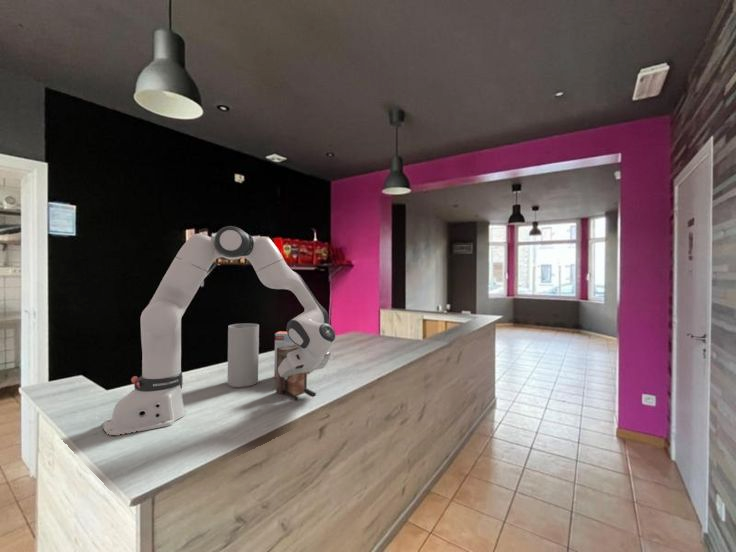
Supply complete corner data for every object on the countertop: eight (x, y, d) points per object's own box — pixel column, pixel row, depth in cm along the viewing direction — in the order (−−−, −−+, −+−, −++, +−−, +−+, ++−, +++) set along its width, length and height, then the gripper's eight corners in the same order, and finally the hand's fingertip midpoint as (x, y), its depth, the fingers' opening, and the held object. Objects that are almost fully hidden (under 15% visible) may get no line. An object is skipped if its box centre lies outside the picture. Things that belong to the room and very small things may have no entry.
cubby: (292, 401, 129) (293, 354, 129) (276, 392, 139) (277, 347, 138) (319, 394, 137) (320, 349, 137) (302, 385, 147) (302, 344, 147)
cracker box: (307, 376, 160) (308, 331, 160) (304, 380, 154) (304, 334, 154) (278, 374, 162) (279, 330, 161) (273, 378, 156) (274, 332, 155)
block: (293, 395, 136) (293, 370, 135) (286, 392, 139) (287, 367, 139) (304, 392, 139) (304, 368, 139) (297, 389, 143) (298, 365, 142)
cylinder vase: (262, 378, 155) (262, 323, 155) (252, 388, 143) (253, 328, 142) (234, 378, 155) (235, 323, 155) (222, 387, 143) (223, 327, 142)
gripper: (329, 345, 140) (315, 364, 147) (283, 353, 126) (271, 373, 134) (335, 358, 137) (321, 377, 144) (289, 368, 123) (276, 387, 130)
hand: (296, 375), depth 139 cm, fingers open, 8 cm apart
